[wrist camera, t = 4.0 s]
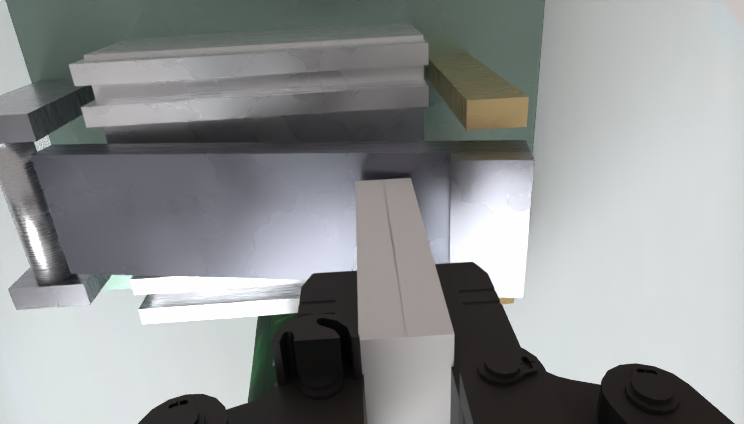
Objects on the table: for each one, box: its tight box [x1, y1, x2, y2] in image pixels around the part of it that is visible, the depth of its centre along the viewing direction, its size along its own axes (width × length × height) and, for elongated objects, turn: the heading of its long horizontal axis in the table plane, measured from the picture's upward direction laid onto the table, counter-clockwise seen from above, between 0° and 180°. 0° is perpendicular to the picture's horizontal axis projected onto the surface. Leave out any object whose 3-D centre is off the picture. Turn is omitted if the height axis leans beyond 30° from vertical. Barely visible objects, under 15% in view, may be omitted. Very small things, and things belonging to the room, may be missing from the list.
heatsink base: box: [0, 0, 545, 324], centre depth 19 cm, size 19×12×8 cm, turn 93°
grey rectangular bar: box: [31, 140, 535, 298], centre depth 15 cm, size 14×4×2 cm, turn 93°
